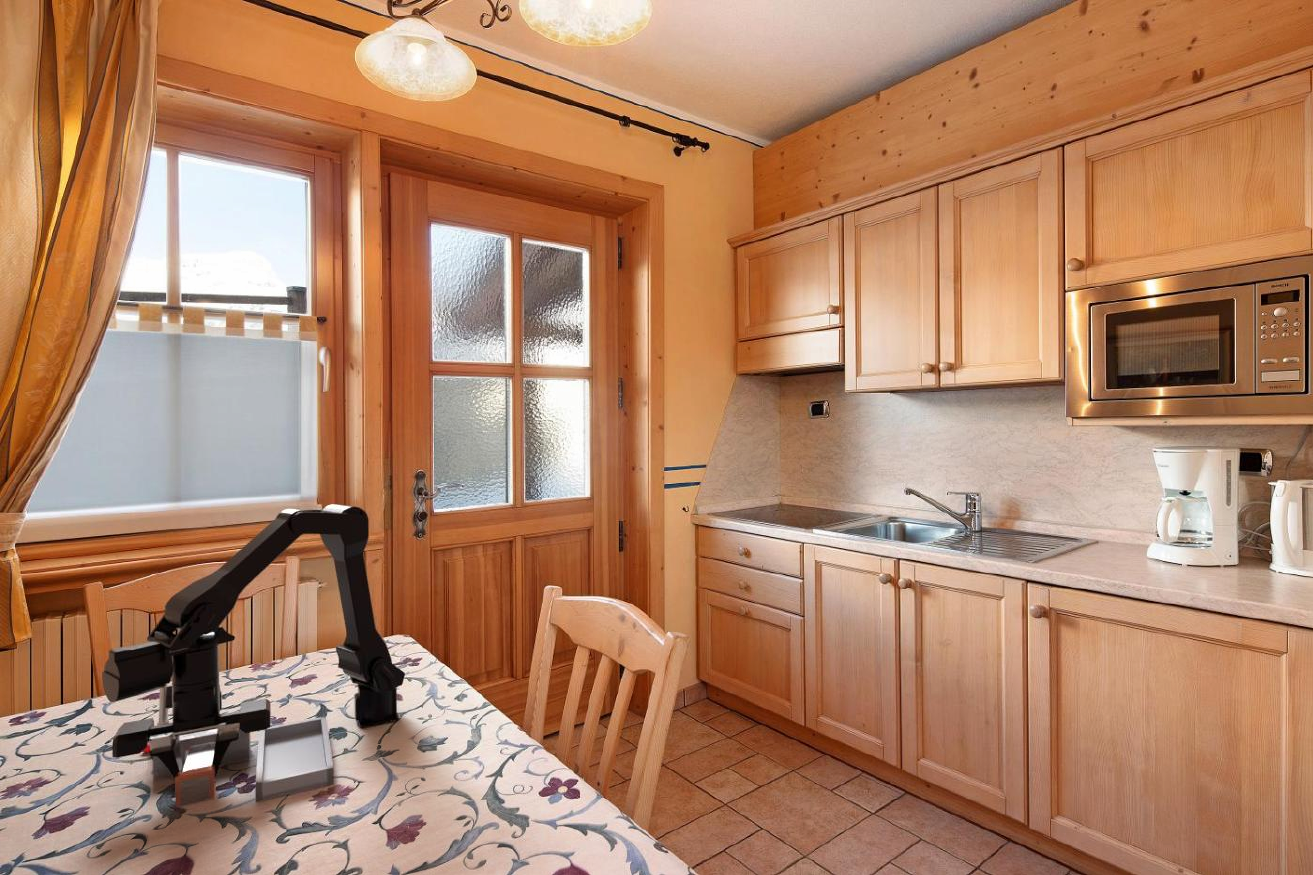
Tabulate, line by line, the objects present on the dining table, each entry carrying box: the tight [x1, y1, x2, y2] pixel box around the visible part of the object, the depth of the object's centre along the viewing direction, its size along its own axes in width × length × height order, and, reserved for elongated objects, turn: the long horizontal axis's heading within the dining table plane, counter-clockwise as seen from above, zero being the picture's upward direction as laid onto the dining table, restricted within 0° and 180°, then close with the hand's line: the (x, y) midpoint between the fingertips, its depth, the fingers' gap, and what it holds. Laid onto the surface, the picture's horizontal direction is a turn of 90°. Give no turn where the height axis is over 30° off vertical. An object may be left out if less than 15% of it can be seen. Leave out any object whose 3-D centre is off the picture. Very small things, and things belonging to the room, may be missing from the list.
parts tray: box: [254, 716, 335, 803], centre depth 108 cm, size 10×20×2 cm, turn 29°
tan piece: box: [174, 742, 216, 808], centre depth 103 cm, size 15×5×4 cm, turn 29°
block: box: [152, 729, 252, 781], centre depth 107 cm, size 12×4×5 cm, turn 119°
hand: (197, 784), depth 99 cm, fingers closed on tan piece, 3 cm apart
